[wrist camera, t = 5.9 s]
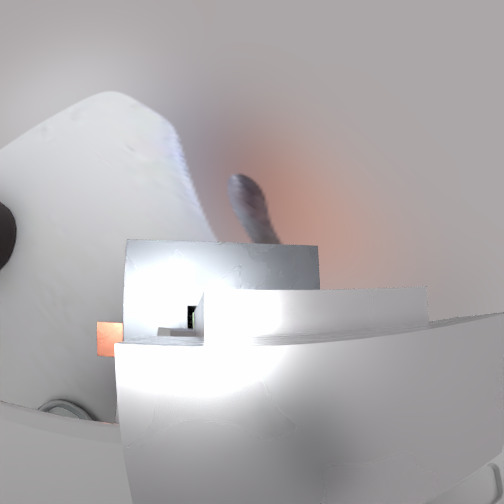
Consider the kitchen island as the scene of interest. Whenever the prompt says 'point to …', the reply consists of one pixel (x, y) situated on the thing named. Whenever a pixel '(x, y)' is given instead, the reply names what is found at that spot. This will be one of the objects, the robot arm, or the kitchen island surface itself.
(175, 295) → the stand sleeve
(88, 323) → the kitchen island surface
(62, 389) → the kitchen island surface
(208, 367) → the column
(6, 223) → the bottle
